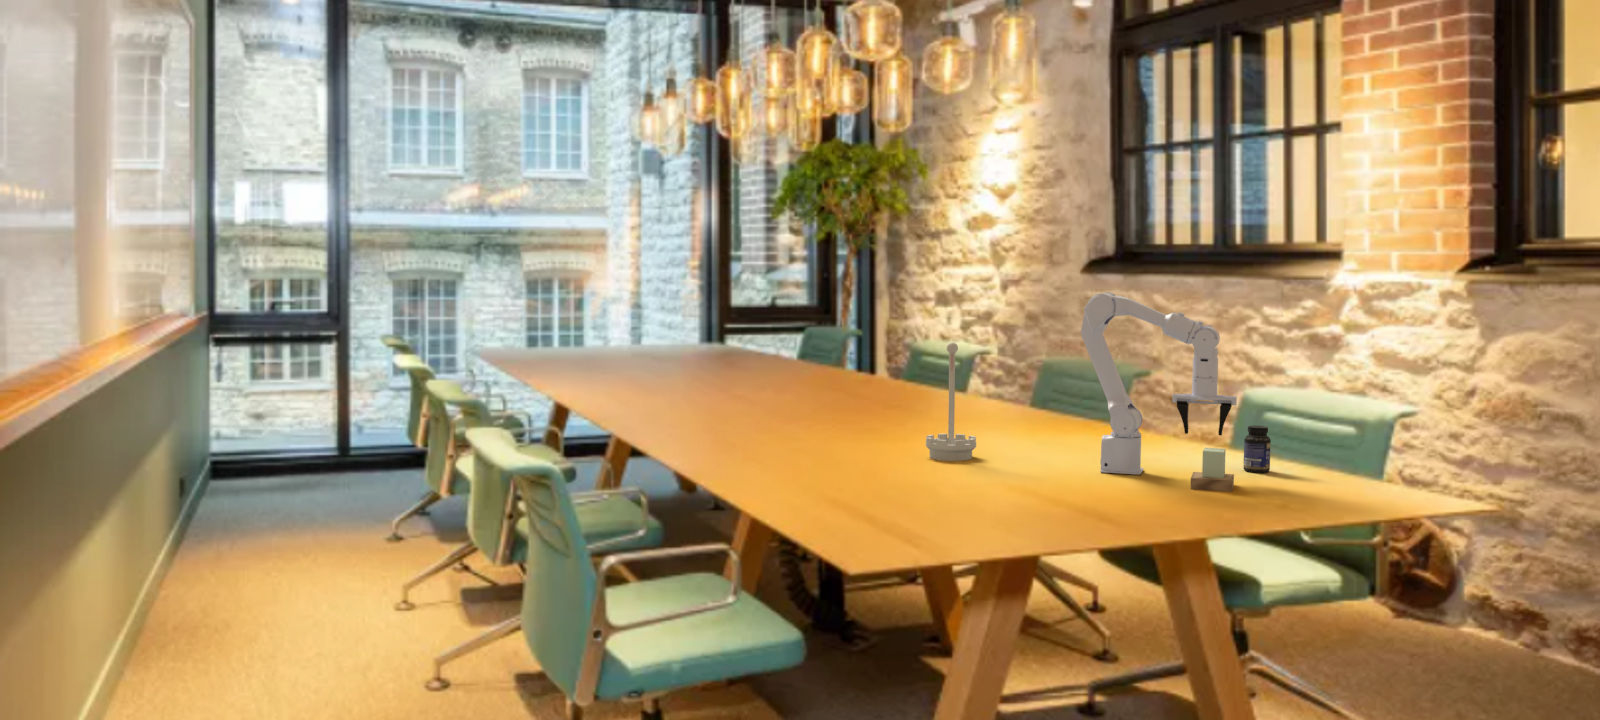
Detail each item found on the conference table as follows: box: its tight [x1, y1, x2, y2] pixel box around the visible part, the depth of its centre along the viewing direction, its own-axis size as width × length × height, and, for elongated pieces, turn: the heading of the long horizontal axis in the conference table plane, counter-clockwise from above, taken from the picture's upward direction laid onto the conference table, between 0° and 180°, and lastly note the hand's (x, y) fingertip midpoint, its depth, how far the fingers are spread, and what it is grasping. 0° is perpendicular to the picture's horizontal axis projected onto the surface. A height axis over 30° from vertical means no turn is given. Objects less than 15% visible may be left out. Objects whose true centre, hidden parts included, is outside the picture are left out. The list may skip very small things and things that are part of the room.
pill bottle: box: [1243, 424, 1272, 474], centre depth 319 cm, size 6×6×11 cm
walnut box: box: [1190, 471, 1235, 493], centre depth 298 cm, size 9×9×3 cm
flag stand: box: [925, 342, 977, 462], centre depth 337 cm, size 13×13×30 cm
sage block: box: [1201, 447, 1227, 478], centre depth 297 cm, size 4×4×6 cm
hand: (1203, 434), depth 309 cm, fingers open, 7 cm apart
